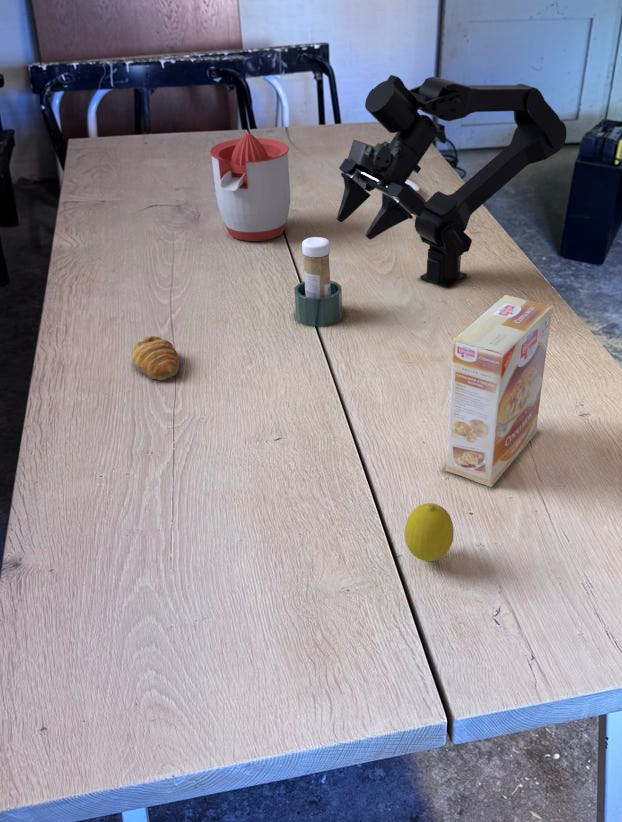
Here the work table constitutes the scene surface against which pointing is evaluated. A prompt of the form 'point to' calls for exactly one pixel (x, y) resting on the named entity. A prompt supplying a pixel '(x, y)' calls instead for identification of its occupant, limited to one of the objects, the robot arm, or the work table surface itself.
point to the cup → (318, 306)
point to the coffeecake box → (496, 388)
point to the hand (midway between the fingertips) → (353, 229)
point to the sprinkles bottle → (316, 267)
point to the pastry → (155, 358)
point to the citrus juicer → (252, 186)
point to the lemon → (429, 532)
